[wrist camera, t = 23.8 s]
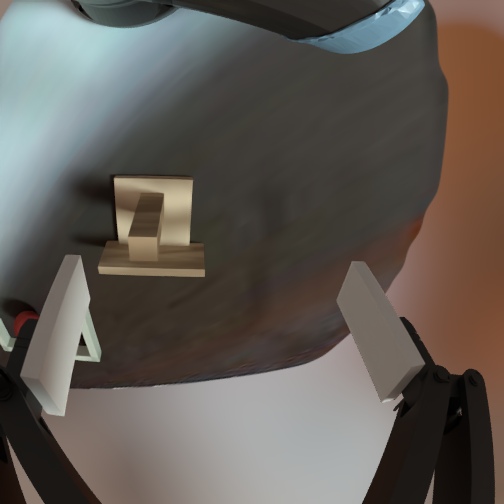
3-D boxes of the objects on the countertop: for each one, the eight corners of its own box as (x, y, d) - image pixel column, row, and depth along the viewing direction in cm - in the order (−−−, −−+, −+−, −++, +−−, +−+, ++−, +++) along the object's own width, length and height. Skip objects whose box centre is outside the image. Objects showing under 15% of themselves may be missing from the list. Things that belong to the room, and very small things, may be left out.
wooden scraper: (101, 175, 37) (75, 218, 29) (208, 177, 40) (212, 221, 32) (108, 247, 44) (91, 300, 35) (202, 249, 47) (206, 304, 38)
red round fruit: (36, 298, 47) (22, 332, 41) (53, 320, 50) (42, 354, 44) (15, 304, 47) (1, 336, 41) (32, 325, 50) (21, 357, 44)
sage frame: (-27, 270, 41) (-32, 279, 39) (80, 276, 46) (76, 287, 44) (7, 341, 52) (4, 350, 50) (101, 351, 57) (99, 361, 55)
